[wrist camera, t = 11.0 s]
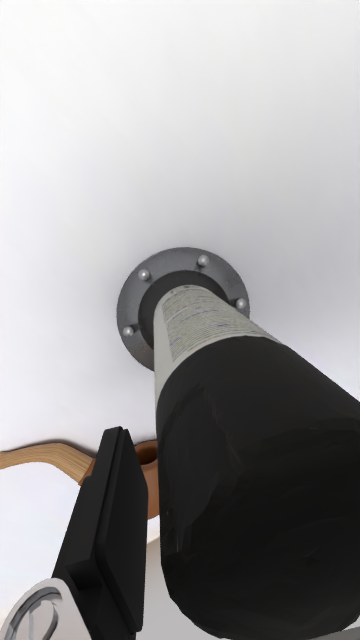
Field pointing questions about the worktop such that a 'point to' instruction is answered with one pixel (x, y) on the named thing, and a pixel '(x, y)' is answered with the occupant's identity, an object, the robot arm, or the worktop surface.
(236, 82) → the worktop surface
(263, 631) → the spray can
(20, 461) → the pipe
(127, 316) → the flange
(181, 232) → the worktop surface
